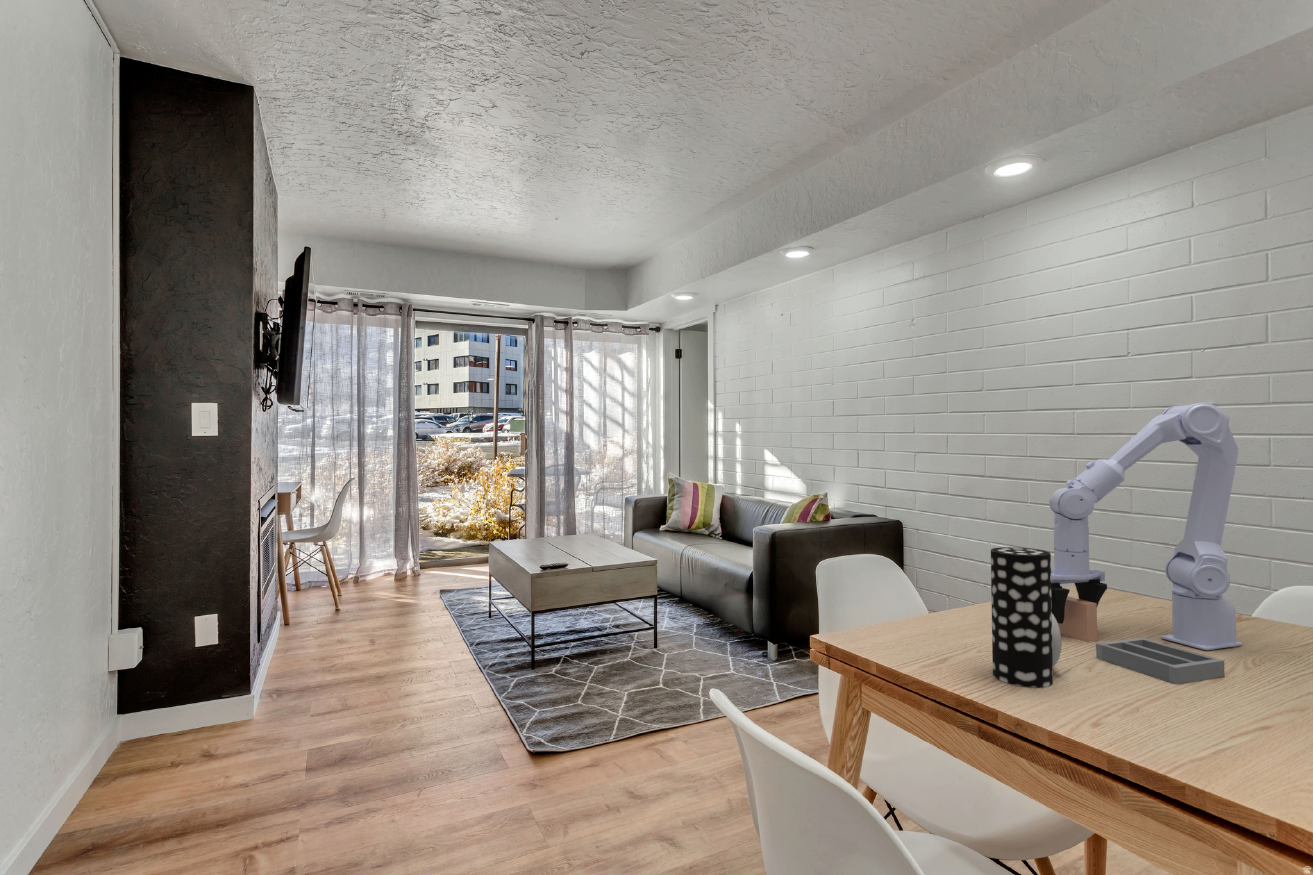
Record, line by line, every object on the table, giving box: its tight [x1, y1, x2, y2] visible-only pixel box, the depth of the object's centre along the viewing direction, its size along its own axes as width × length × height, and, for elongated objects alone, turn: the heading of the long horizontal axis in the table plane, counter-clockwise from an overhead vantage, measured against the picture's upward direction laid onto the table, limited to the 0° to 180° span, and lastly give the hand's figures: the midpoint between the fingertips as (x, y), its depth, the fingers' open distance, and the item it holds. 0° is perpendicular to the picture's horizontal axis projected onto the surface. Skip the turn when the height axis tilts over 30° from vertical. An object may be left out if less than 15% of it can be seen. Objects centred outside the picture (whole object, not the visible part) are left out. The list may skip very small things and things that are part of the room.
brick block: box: [1058, 596, 1098, 643], centre depth 125 cm, size 2×8×7 cm, turn 17°
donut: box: [1052, 614, 1062, 667], centre depth 108 cm, size 10×4×10 cm, turn 170°
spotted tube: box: [990, 546, 1054, 689], centre depth 103 cm, size 8×8×20 cm
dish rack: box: [1095, 637, 1225, 685], centre depth 107 cm, size 11×13×2 cm
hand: (1072, 620), depth 125 cm, fingers open, 7 cm apart
